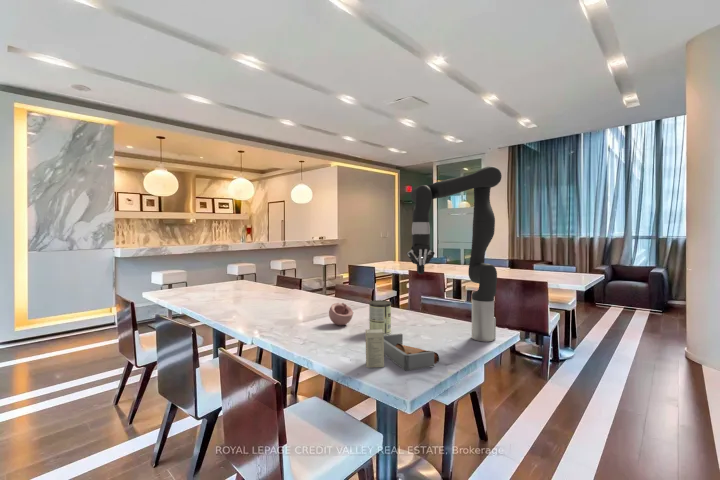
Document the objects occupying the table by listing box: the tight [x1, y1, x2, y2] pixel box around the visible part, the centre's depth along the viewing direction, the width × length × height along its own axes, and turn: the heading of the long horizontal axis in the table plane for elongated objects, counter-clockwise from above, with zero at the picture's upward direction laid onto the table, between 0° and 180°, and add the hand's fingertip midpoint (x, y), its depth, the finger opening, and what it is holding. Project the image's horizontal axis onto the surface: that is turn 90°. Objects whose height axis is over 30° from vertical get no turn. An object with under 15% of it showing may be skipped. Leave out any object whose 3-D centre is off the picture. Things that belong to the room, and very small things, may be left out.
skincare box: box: [365, 329, 385, 369], centre depth 123 cm, size 6×4×12 cm
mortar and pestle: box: [328, 302, 354, 326], centre depth 177 cm, size 12×12×11 cm
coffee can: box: [368, 299, 392, 335], centre depth 164 cm, size 10×10×14 cm
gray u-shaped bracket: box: [384, 333, 435, 372], centre depth 132 cm, size 11×24×5 cm, turn 21°
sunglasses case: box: [395, 343, 440, 365], centre depth 130 cm, size 18×7×7 cm
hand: (420, 273), depth 150 cm, fingers closed
